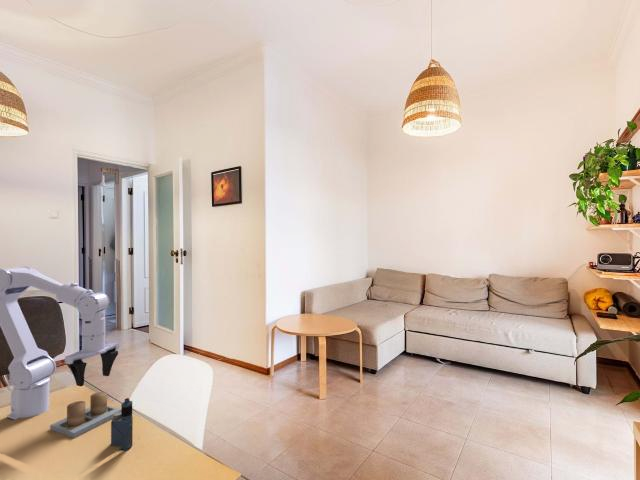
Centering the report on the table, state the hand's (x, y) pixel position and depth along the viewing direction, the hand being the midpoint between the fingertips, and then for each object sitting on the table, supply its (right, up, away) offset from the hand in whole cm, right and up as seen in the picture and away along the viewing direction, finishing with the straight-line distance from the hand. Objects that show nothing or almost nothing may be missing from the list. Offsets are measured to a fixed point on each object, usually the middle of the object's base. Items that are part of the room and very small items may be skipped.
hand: (93, 380), depth 98 cm
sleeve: (+1, -9, -9) cm, 13 cm away
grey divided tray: (+2, -10, -6) cm, 12 cm away
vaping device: (+18, -10, -16) cm, 26 cm away
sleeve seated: (+4, -9, -3) cm, 10 cm away
